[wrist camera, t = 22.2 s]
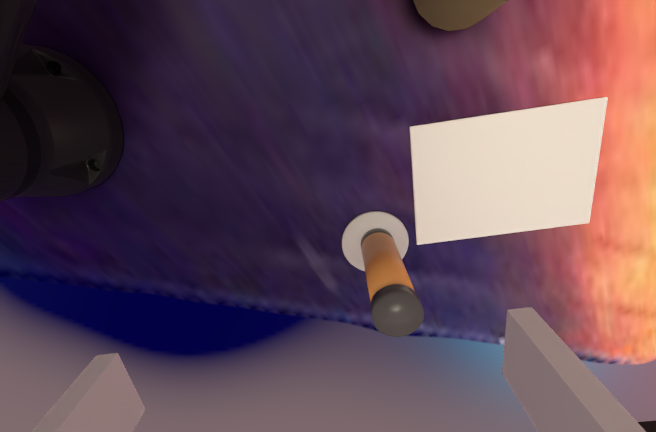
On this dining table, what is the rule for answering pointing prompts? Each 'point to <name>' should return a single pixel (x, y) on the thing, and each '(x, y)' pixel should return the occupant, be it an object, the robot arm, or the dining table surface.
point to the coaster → (366, 223)
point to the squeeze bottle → (455, 12)
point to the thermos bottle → (389, 286)
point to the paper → (506, 171)
